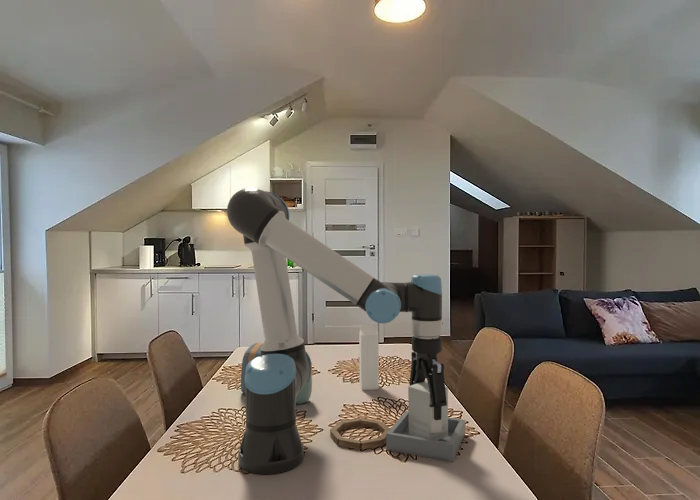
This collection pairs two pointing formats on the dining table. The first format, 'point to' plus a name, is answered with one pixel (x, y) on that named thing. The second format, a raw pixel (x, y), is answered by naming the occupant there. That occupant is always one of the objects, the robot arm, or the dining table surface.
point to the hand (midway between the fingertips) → (427, 424)
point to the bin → (426, 440)
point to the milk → (369, 356)
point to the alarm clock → (248, 356)
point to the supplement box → (424, 412)
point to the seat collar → (356, 443)
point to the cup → (305, 392)
